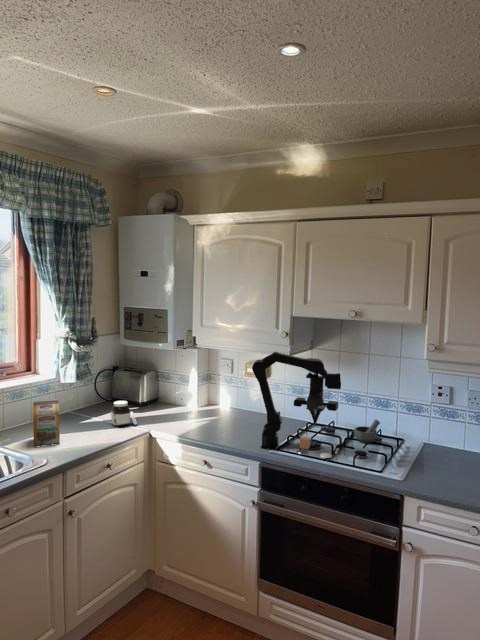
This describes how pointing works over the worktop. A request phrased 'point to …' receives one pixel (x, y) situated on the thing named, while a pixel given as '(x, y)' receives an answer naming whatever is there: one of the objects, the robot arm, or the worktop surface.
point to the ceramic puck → (326, 455)
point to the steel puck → (302, 452)
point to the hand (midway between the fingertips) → (315, 423)
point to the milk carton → (46, 422)
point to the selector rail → (335, 451)
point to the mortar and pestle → (366, 432)
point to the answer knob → (304, 442)
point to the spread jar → (121, 414)
